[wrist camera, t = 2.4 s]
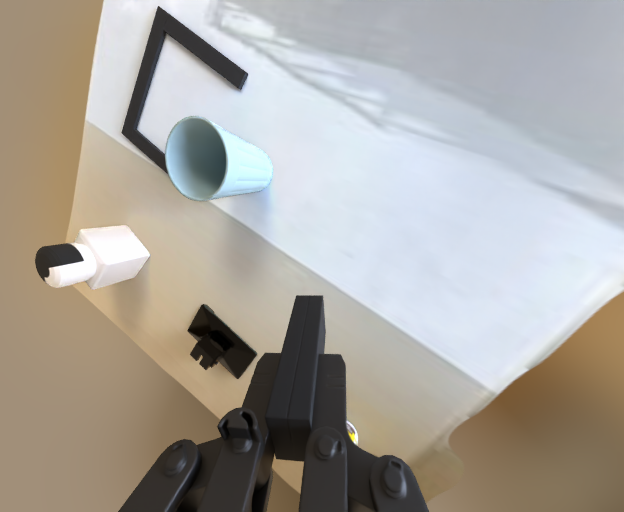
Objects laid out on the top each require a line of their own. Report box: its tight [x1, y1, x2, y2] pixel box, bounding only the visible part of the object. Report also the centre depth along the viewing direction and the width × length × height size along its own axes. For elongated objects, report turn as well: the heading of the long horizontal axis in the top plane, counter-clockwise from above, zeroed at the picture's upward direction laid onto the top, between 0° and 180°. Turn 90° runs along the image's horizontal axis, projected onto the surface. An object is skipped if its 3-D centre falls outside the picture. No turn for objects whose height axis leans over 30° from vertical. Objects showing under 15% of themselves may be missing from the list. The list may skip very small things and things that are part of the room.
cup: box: [165, 116, 273, 201], centre depth 29 cm, size 8×8×10 cm
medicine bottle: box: [35, 225, 150, 290], centre depth 40 cm, size 7×7×12 cm
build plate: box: [188, 304, 257, 379], centre depth 40 cm, size 12×7×5 cm, turn 55°
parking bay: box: [122, 6, 248, 175], centre depth 35 cm, size 16×18×1 cm
